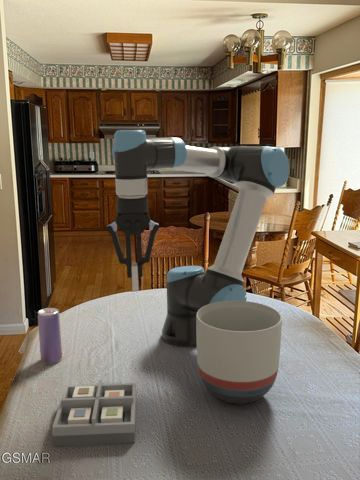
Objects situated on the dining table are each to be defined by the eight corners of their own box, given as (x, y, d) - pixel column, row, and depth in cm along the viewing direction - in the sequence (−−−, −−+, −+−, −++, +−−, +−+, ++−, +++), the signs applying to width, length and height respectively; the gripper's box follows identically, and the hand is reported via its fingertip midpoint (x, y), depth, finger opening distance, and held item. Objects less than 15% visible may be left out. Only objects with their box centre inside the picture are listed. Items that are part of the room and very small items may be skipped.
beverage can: (56, 365, 135) (53, 315, 132) (37, 363, 136) (33, 314, 133) (65, 356, 141) (62, 308, 138) (46, 354, 142) (43, 306, 139)
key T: (92, 420, 107) (91, 406, 107) (89, 432, 103) (88, 418, 102) (71, 421, 107) (70, 407, 106) (68, 433, 103) (67, 419, 102)
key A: (124, 402, 115) (124, 389, 114) (123, 412, 110) (123, 399, 110) (105, 402, 114) (105, 389, 114) (104, 413, 110) (103, 400, 109)
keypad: (136, 397, 118) (136, 376, 117) (134, 442, 101) (134, 418, 100) (67, 400, 117) (65, 379, 116) (53, 446, 100) (51, 421, 99)
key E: (95, 398, 114) (94, 385, 113) (92, 408, 110) (92, 395, 109) (75, 398, 114) (75, 385, 113) (73, 409, 109) (72, 396, 109)
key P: (123, 418, 108) (122, 405, 107) (122, 431, 103) (121, 416, 103) (103, 419, 108) (102, 406, 107) (101, 431, 103) (100, 417, 102)
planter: (196, 374, 130) (196, 300, 125) (271, 375, 129) (274, 300, 124) (196, 418, 110) (196, 331, 105) (285, 419, 109) (289, 332, 105)
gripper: (158, 193, 118) (160, 283, 124) (105, 194, 117) (110, 285, 123) (159, 197, 111) (162, 293, 116) (103, 198, 110) (108, 295, 115)
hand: (135, 289), depth 120 cm, fingers closed
